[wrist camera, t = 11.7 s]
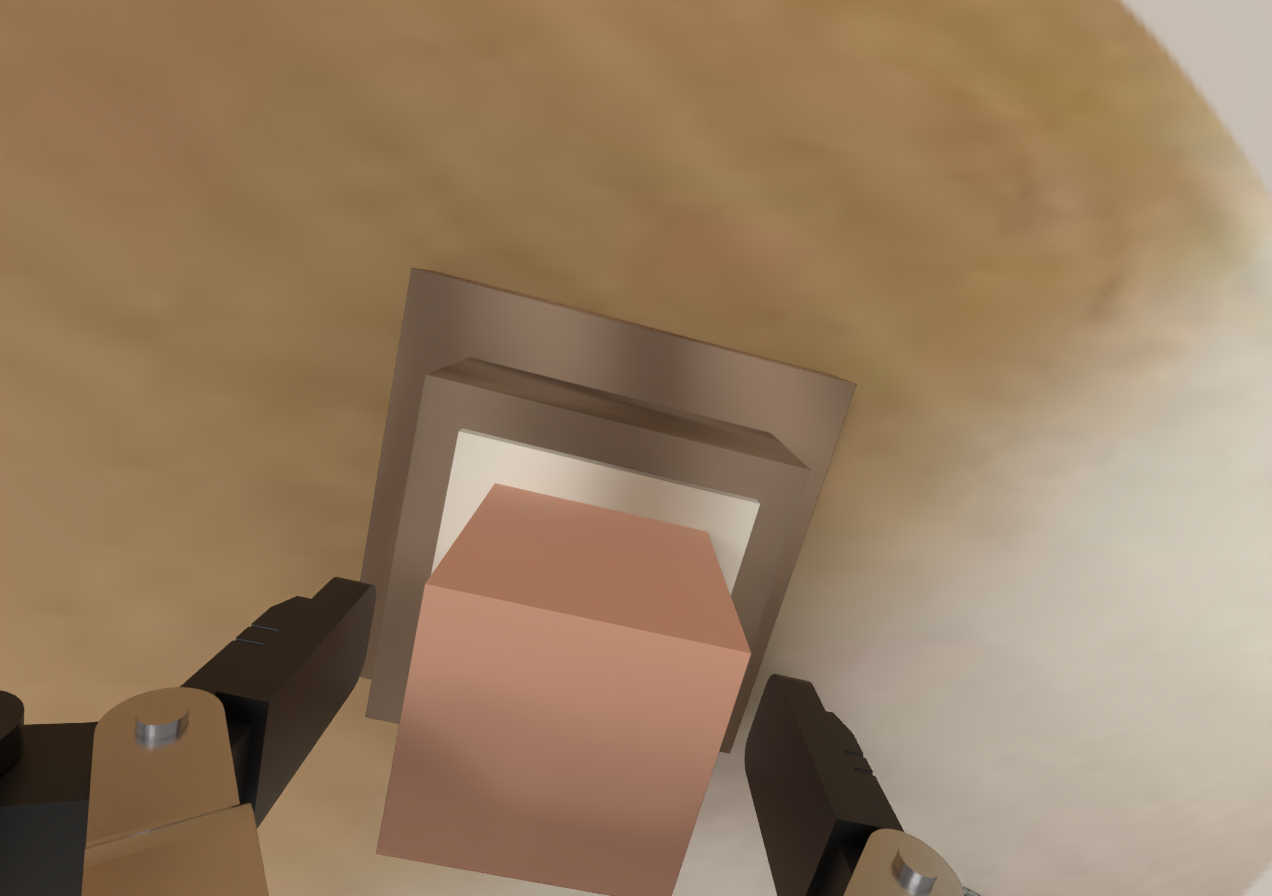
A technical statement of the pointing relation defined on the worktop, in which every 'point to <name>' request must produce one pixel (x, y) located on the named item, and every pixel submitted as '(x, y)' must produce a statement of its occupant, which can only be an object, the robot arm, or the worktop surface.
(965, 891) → the spray paint can
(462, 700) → the terracotta cube
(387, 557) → the walnut plinth
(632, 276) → the worktop surface
